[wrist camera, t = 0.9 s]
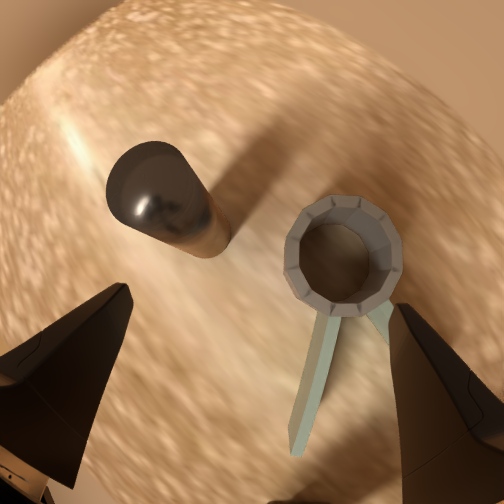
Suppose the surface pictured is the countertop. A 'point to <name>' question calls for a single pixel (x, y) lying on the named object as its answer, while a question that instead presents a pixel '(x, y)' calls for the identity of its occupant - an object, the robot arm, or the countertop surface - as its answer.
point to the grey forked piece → (330, 312)
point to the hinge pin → (166, 200)
